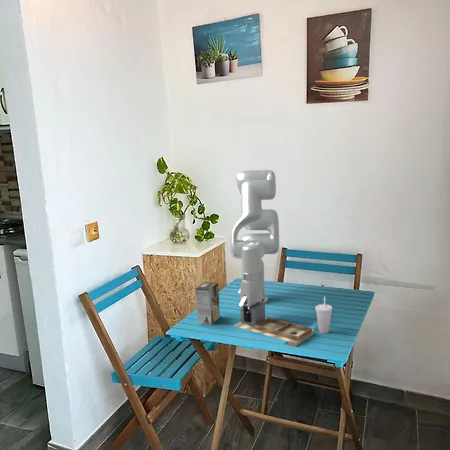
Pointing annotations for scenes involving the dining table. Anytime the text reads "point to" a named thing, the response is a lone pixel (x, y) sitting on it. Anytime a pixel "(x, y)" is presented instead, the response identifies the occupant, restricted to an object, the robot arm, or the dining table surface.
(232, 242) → the robot arm
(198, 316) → the coffee box
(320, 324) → the smoothie
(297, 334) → the board
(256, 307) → the gray cube
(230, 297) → the dining table surface
